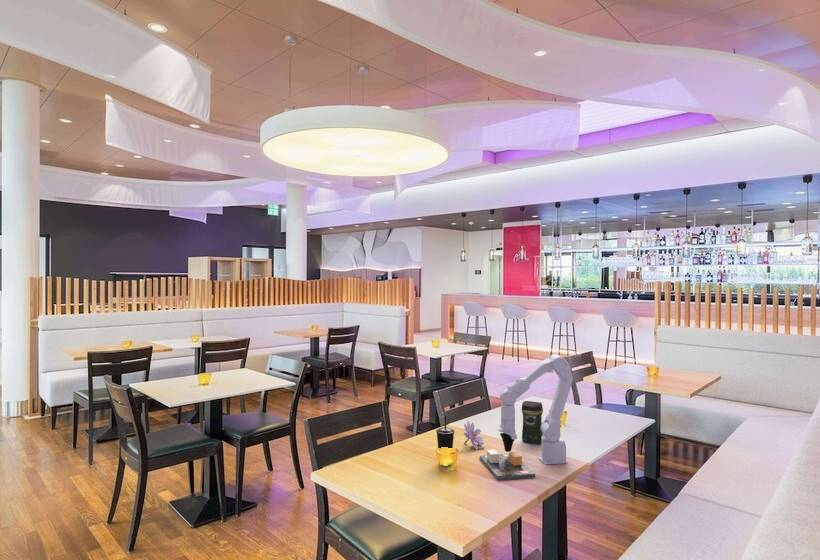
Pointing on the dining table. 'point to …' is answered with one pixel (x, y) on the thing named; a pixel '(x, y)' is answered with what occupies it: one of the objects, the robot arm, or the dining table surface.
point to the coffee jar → (532, 422)
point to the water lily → (473, 435)
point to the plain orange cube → (515, 458)
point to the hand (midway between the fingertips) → (507, 451)
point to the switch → (493, 456)
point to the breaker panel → (507, 468)
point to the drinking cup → (445, 436)
